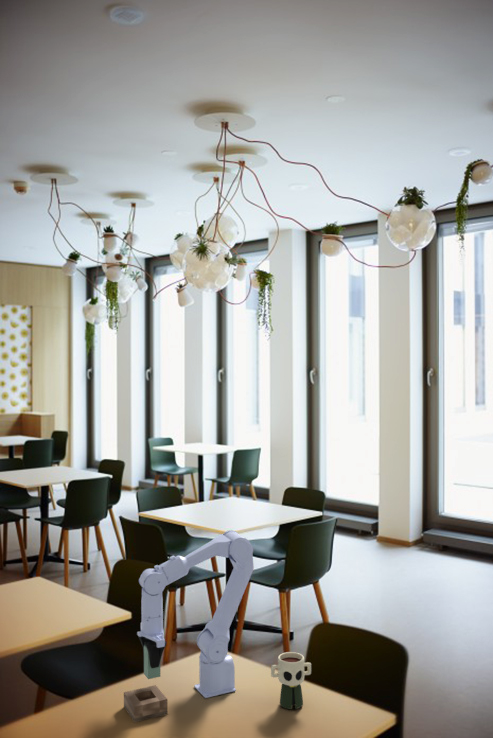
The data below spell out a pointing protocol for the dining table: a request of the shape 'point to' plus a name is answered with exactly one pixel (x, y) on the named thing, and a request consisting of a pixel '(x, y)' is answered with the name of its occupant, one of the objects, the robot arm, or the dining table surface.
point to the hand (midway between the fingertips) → (152, 664)
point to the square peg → (148, 670)
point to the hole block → (145, 703)
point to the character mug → (291, 678)
